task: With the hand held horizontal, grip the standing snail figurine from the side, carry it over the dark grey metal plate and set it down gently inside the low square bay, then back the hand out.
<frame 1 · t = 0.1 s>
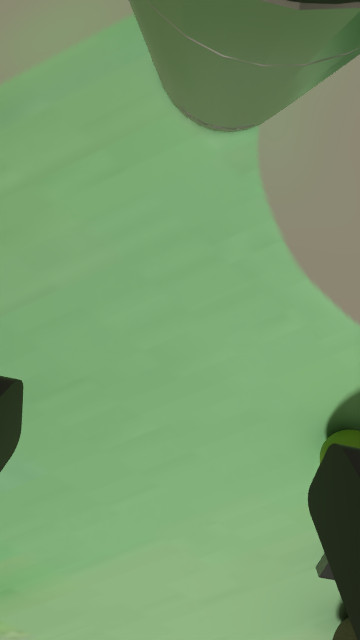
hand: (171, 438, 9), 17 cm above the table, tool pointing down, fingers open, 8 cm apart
snail figurine: (338, 434, 30), on the table
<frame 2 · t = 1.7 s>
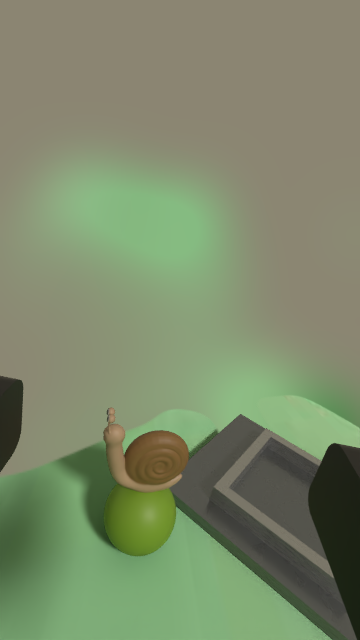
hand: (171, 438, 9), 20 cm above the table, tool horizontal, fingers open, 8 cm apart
snail figurine: (127, 538, 26), on the table
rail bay: (291, 509, 32), on the table
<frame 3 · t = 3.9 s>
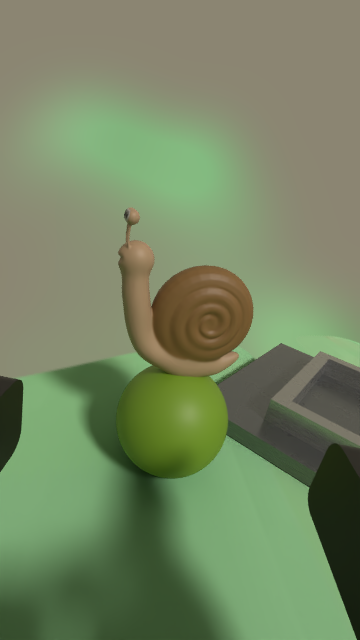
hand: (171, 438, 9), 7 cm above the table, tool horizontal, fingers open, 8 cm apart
snail figurine: (152, 462, 17), on the table
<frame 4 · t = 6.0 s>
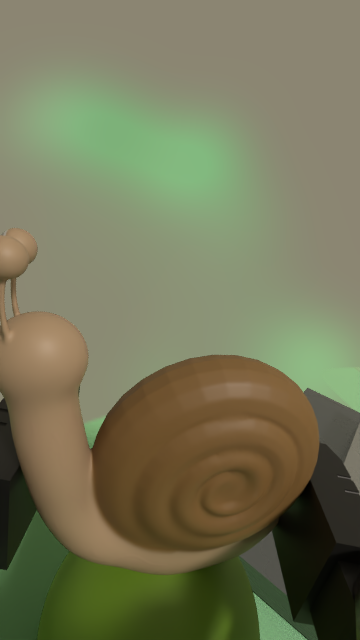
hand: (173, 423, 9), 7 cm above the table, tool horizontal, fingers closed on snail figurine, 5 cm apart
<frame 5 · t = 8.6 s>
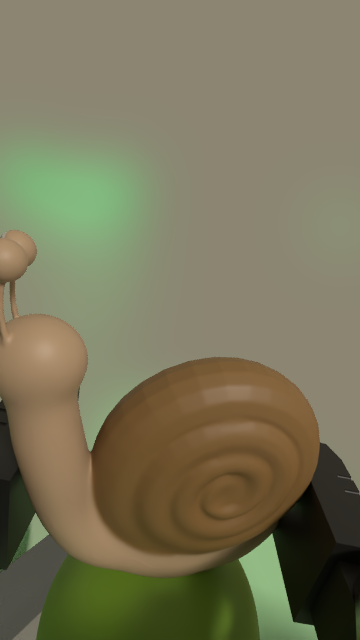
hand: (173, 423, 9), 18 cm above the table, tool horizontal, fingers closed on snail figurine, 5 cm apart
when the fingers open (8 cm above the table, at t = 11.5 s): snail figurine stays where it is, resting on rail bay.
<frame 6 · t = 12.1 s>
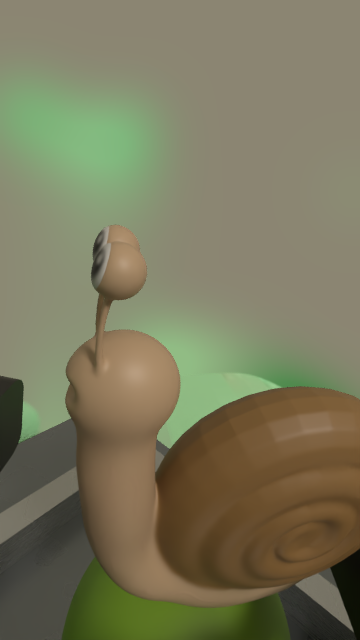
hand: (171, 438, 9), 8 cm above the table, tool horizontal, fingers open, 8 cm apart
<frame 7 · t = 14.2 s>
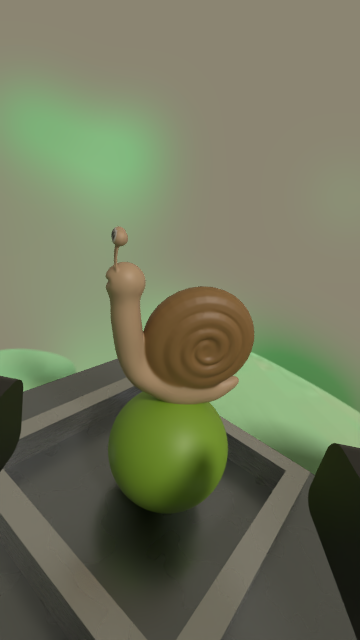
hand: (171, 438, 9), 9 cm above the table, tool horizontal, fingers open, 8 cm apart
snail figurine: (147, 492, 16), point 1 cm above the table, touching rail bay
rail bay: (142, 500, 17), on the table
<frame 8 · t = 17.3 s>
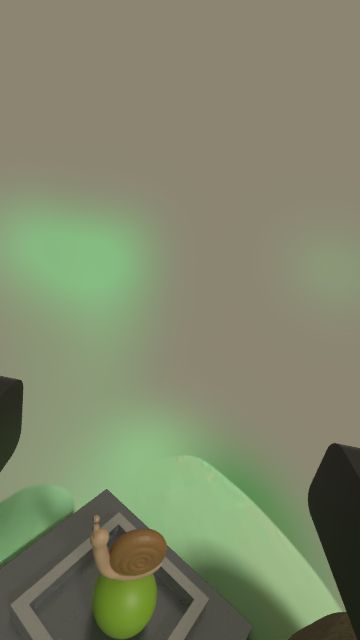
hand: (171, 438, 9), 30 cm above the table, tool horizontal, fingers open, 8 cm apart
snail figurine: (114, 616, 29), point 1 cm above the table, touching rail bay
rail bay: (111, 618, 29), on the table
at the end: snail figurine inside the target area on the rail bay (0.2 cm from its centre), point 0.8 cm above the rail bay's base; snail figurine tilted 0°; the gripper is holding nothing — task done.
